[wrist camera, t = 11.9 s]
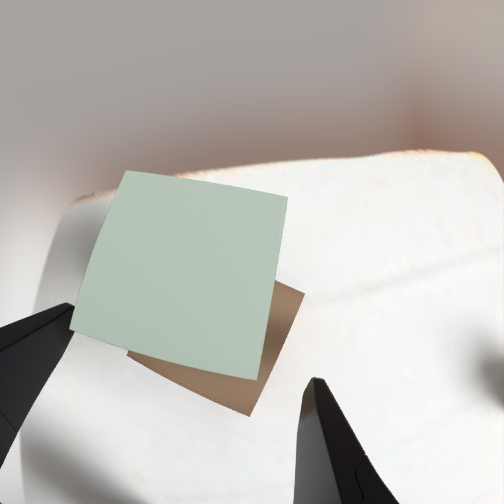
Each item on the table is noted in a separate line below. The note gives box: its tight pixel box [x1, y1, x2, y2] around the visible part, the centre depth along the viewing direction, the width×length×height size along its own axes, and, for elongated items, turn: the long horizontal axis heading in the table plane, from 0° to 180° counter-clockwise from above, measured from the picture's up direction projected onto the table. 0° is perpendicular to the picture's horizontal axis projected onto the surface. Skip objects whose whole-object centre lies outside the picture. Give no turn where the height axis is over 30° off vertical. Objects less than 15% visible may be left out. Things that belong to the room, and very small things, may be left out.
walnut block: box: [127, 281, 305, 417], centre depth 21 cm, size 9×9×4 cm
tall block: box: [69, 170, 288, 380], centre depth 13 cm, size 5×5×12 cm
